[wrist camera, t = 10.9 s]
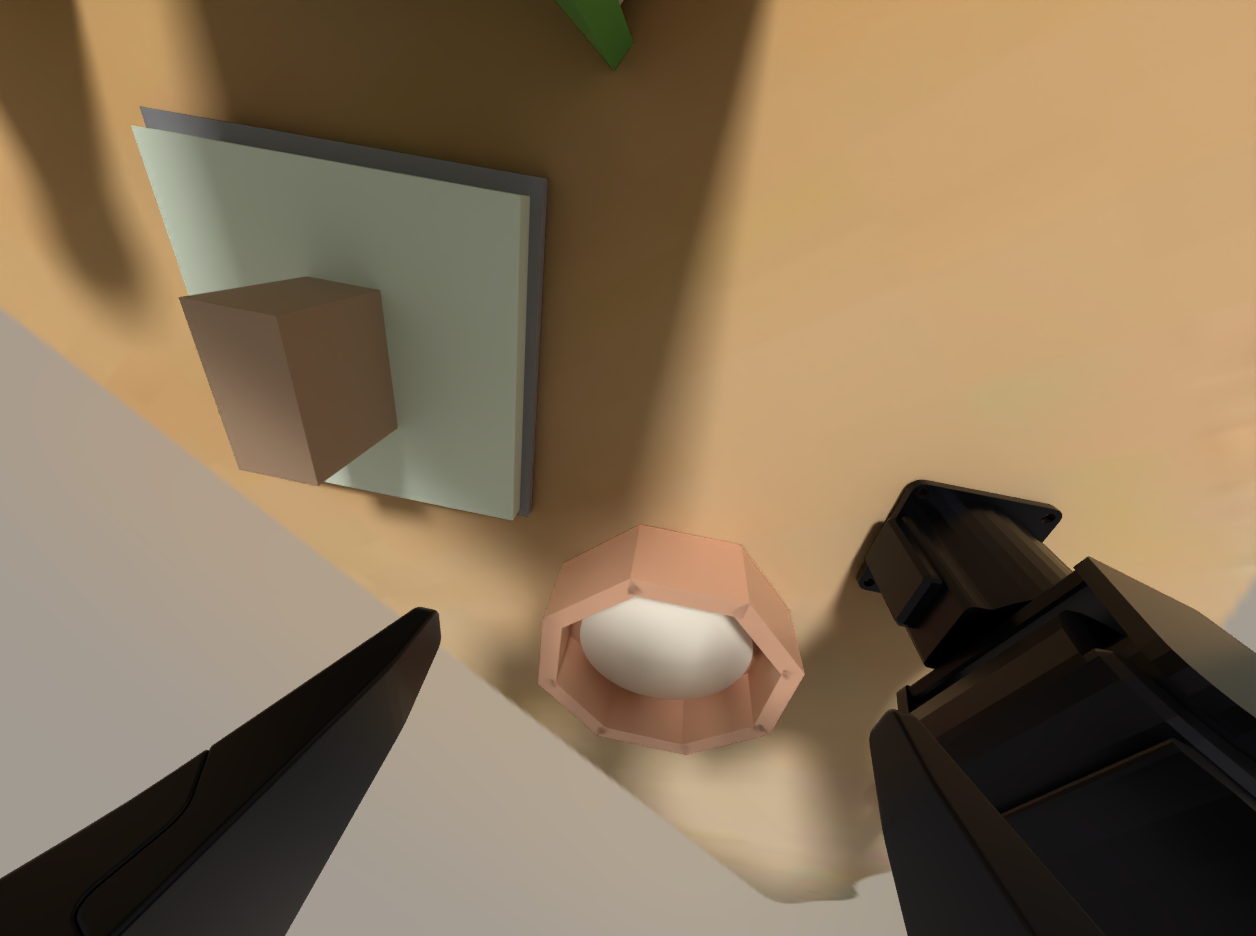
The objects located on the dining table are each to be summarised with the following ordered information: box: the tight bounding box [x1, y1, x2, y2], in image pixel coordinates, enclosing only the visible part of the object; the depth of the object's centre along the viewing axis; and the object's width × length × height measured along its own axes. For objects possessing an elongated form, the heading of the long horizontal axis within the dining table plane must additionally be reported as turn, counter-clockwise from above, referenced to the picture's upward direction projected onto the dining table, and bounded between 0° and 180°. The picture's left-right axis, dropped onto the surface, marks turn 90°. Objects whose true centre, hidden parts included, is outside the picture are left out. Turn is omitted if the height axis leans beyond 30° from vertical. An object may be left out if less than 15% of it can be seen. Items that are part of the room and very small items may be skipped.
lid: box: [131, 126, 530, 521], centre depth 17 cm, size 14×14×6 cm
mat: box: [140, 106, 548, 517], centre depth 20 cm, size 15×15×1 cm
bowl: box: [538, 525, 805, 755], centre depth 25 cm, size 13×13×4 cm
